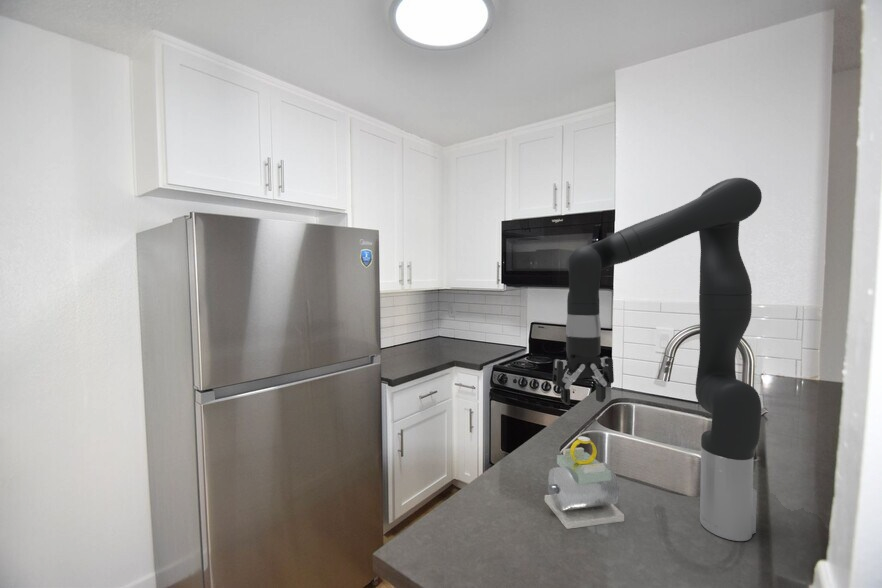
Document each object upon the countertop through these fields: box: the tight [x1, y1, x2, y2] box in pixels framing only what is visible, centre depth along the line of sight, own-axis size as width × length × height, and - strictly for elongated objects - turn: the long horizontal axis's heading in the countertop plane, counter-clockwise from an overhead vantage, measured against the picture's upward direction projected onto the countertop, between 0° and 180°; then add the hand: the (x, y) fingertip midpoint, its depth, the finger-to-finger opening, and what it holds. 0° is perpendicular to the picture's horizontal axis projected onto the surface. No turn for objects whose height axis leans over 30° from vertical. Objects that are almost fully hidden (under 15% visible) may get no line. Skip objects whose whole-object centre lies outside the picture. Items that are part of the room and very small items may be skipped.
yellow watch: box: [570, 435, 598, 464], centre depth 92 cm, size 6×3×6 cm, turn 97°
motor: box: [544, 447, 625, 530], centre depth 92 cm, size 16×11×13 cm
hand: (583, 402), depth 92 cm, fingers open, 8 cm apart
